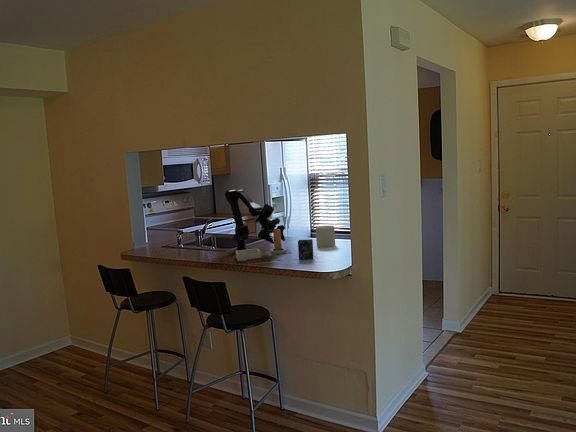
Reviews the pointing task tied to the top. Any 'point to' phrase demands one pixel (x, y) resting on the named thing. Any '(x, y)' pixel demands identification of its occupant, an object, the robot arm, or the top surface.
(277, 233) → the strut
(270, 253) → the socket mount
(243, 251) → the bin
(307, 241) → the box
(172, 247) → the top surface
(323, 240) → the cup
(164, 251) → the top surface
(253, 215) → the robot arm
